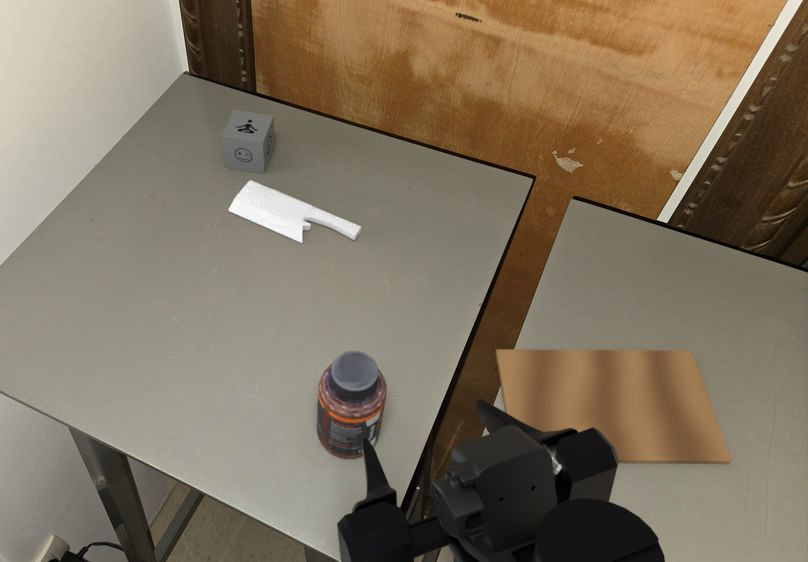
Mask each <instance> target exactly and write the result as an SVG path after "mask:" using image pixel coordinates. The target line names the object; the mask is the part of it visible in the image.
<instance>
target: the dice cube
mask: <svg viewBox="0 0 808 562" xmlns="http://www.w3.org/2000/svg"><path fill="white" fill-rule="evenodd" d="M274 117H275V116H274V115H272V114H271V115H270V114H264V113H257V112H252V111H245V110H241V109H240V110H238V109H233V110H232V113H231V115H230V117H229V120H228V122H227V124H226V126H225V128H224V131H223V133H222V135H221V140H222V151H223V159H224V167H225V168H227V169H232V170H239V171H243V172H245V171H246V172H250V173H256V174H262V175H265V174H266V171H267V168H268V166H269V163H270V160H271V158H272V155H273V152H274V150H275V146H276V145H275V120H274V119H275V118H274Z"/></svg>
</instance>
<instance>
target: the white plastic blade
mask: <svg viewBox="0 0 808 562" xmlns="http://www.w3.org/2000/svg"><path fill="white" fill-rule="evenodd" d="M227 211H228V212H229V213H231V214H233V215H237V216H239V217H241V218H243V219H246V220H248V221H250V222H253V223H255V224H257V225H259V226H262V227H264V228H266V229H268V230H270V231H273V232H275V233H278V234H280V235H282V236H284V237H286V238H289V239H291V240H294V241H296V242H298V243H301V244H303V232H304V231H307V232H308V231H311V230H312V225H311V223H315V224H317V225H321V226H324V227H326V228H330V229H332V230H333V231H336V232H338V233H340V234H341V235H343V236H345V237H347V238H348V239H351V240H353V241H356V239H357V238H358V237H359V235H360V234H361V233H362V226H361V225H359V224H356V223H354V222H351V221H349V220H346V219H344V218H341V217H340V216H336V215H334V214H332V213H330V212H328V211H325V210H323V209H321V208H319V207H316V206H314V205H311V204H309V203H307V202H305V201H302V200H300V199H298V198H295V197H293V196H290V195H288V194H286V193H283V192H282V191H280V190H276V189H274V188H270V187H268V186H266V185H263V184H261V183H259V182H257V181H253V180H251V179H249V181H248V182H247V183H246V184H245V185H243V187H242V189H240V191H239V192H238V193H237V194H236V196H235V197H234V199H233V201H232V203H231V205H230V206H229V208H228V210H227ZM308 221H309V222H308Z"/></svg>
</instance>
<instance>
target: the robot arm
mask: <svg viewBox="0 0 808 562" xmlns="http://www.w3.org/2000/svg"><path fill="white" fill-rule="evenodd" d="M475 409H476V412H477V414H478V416H479V418H480V420H481V422H482V424H483V425H484V427H485V429H486V430H487V432H488V434H486V435H483V436H479V437H476V438H468V439H464V440H463V441H460V442H459V443H457V444H456V445H455V447H454V448H452V451H451V454H450V465H449V466H447V467H445V475H444V476H442V477H440V478H438V479H434V480H433V481H431V483H430V492H431V497H432V505H433V510H434V514H435V515H434V514H433V515H431V516H429V517H427V518H424V519H421V520H418V521H415V522H412V523H410V524H409V521H408V518H407V517H406V515H405V513H404V512H403V510H402V508H401V506H398V492H397V490H396V489H395V488H393V487H392V486H390V484H389V481H388V479H387V476H386V473H385V470H384V469H383V467H382V464H381V462H380V461H381V460H380V458H379V457H378V453H377V451H376V449H375V446H374V447H373V446H372V444H371V443H370V441H369V440H368V438H367V437H365V438H362V450H363V455H362V457H363V467H364V475H365V483H366V495H365V498H364V499H361V500H359V501H357V502H356V503H354V505H353V506H352V508H351V512H350V513H347V514H345V515H343V517H342V518H340V519H339V521H338V522H337V523H336V527H337V536H338V548H339V556H340V557H339V558H340V562H415V559H416V558H419V557H421V556H424V555H426V554H429V553H432V552H435V551H437V550H440V549H443V548H445V547H448V548H449V550H450V551H451V553H452V555H453V557H452V558H453V559H452V562H666V557H665V554H664V551H663V550H662V547H661V545H660V542H659V540H660V538H659V537H658V535H657V533H656V532H655V531H654V530H653V528H652V527H651V526H650V525H649V524H647V522H645V520H643V519H642V518H641V517H640V516H638V515H637V514H636V513H634V512H632V511H631V510H629V509H628V508H627V507H623V506H621V505H619V504H617V503H614V502H612V501H610V499H611V495H612V491H613V487H614V482H615V480H616V474H617V471H618V467H619V463H618V462H619V459H618V456H617V453H616V450H615V448H614V446H613V445H612V444H611V443H610V442H609V441H608V440H607V439H606V437H605V436H604V435H603V434H602V433H601V432H600V431H599V430H598V429H596V428H594V427H592V428H590V429H587V430H584V431H581V432H578V431H577V430H576V429H574V428H566V429H563V430H558V431H548V432H543V431H540V430H538V429H536V428H533V427H531V426H529V425H527V424H525V423H523V422H521V421H519V420H518V419H516V418H514V417H512V416H511V415H509V414H507V413H506V412H505V410H502V409H500V408H499V407H497V406H495V405H493V404H491V403H490V402H488V401H486V400H484V399H483V398H480V399H477V400H476V403H475Z"/></svg>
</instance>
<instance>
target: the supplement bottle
mask: <svg viewBox="0 0 808 562" xmlns="http://www.w3.org/2000/svg"><path fill="white" fill-rule="evenodd" d="M387 386H388V385H387V381H386V379H385V376H384V374H383V373H382V371H381V370H380V368H379V367H378V364H377V362H376V361H375V360H374V358H373V357H372V356H371V355H369V354H368V353H366V352H364V351H360V350H347V351H344V352H342V353H340V354H338V355H337V356H336V357H335V358H334V360H333V361H332V363H330V364H329V365H328V366H327V367H326V368H325V369H324V371H323V372H322V373H321V375H320V379H319V382H318V389H317V390H318V391H317V411H316V432H317V437H318V440H319V442H320V443H321V445H322V447H323V448H324V449H325V450H326V451H328V453H329V454H332V455H334V456H336V457H339V458H342V459H356V458H360V457H363V450H362V438H365V437H367V438H368V440H369V441H370V443H371V444H372V446H373V447H374V448H375V446H376V444H377V442H378V439H379V436H380V432H381V428H382V421H383V417H384V415H383V414H384V410H385V405H386V401H387V400H386V399H387V393H388V388H387Z"/></svg>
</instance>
